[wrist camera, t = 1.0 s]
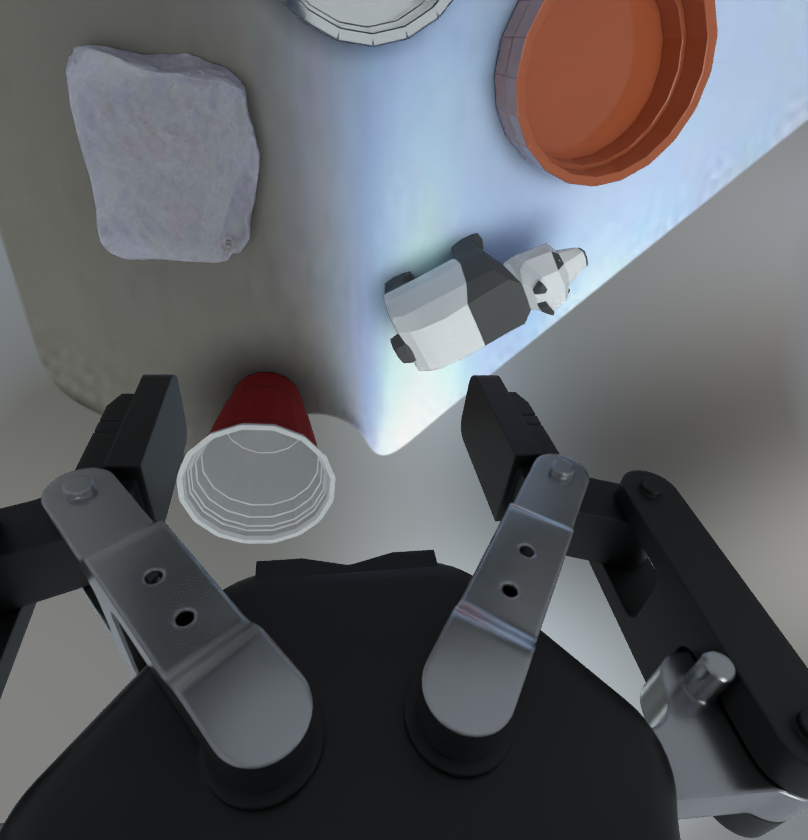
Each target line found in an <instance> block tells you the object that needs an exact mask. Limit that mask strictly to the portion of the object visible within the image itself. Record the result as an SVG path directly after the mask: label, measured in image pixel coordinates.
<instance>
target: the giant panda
mask: <svg viewBox="0 0 808 840" xmlns="http://www.w3.org/2000/svg"><path fill="white" fill-rule="evenodd" d="M452 254H453V258H452V259H451V260H449V261H447V262H445V263H444V264H442V265H440V266H438V267H436V268H434V269H432V270H431V271H429V272H427V273H425V274H423V275H421V276H419V277H417V278H416V279H415V277H414V276H413V275H412V274H411V273H410V272H406V273H403V274H401V275H398V276H396V277H394V278H392V279H391V280H390V281H388V282H387V283H386V284H385V293H384V300H385V304H386V308H387V311H388V314H389V316H390V318H391V320H392V323H393V325H394V327H395V329H396V331H397V335H396V336H394V337H393V338H392V339H390V340H391V343H392V346H393V349H394V351H395V353H396V354H397V356H398V357H399V359H400V360H401V361H402V362H403V363H411V362H414V363H415V365H416V366H417V368H418V370H419V371H432V370H436V369H440V368H443V367H445V366H448V365H450V364H452V363H454V362H456V361H458V360H461V359H463V358H465V357H467V356H468V355H470V354H472V353H473V352H475V351H477V350H479V349H480V348H482V347H484V346H485V345H487V344H489V343H491V342H492V341H494V340H496V339H497V338H499V337H501V336H503V335H504V334H506V333H508V332H509V331H511V330H513V329H515V328H517V327H519V326H521V325H523V324H525V322H526V320H527V317H528V315H529V313H530V311H531V310H540V311H542V312H544V313H547V314H550V315H554V311H553V310H554V309H556V308H557V307H558V306H560V305H561V304H563V303H564V302H565V301H567V296H568V293H569V292H570V289H569V284H570V282H571V281H572V280H573V279H574V278H575V277H576V276H577V275H578V274H579V273H580V272H581V271H582V270H583V269H584V268H585V267H586V266H587V265H588V261H587V256H586V254H585V251H584V250H582V249H581V248H569V249H562V250H556V251H555V250H554V249H553V248H552V247H550V246H549V245H548V244H547V243H546V244H543V245H541V246H538V247H536V248H533V249H531V250H528V251H526V252H523V253H521V254H518V255H515V256H513V257H512V258H510V259H508V260H507V261H506V262H504V263H503V264H502V263H500V262H498V261H497V260H495V259H493V258H492V257H491V256H489V255H488V254H487V253H485V252H484V251H483V242H482V239H481V237H480V236H479V235H478V234H477V233H476V234H473V235H470V236H468V237H466V238H464V239H462V240H460V241H459V242H458V243H457V244H456V245H454V246H453V247H452Z"/></svg>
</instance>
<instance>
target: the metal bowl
mask: <svg viewBox="0 0 808 840" xmlns="http://www.w3.org/2000/svg"><path fill="white" fill-rule="evenodd" d="M283 1H284V2H285V3H286V5H287V6H288V7H289V8H290V9H291V10H292V11H293V12H294V13H295V14H296V15H297V16H298V18H299V19H300V20H301V21H303V22H304V23H306V24H307V25H309V26H311V27H312V28H314V29H316V30H318V31H319V32H321V33H323V34H325V35H326V36H328V37H330V38H331V39H334V40H337V41H340V42H346V43H352V44H358V45H364V46H370V47H376V46H380V45H384V44H389V43H393V42H398V41H402V40H407V38H410V37H412V36H413V35H415V34H416V33H418V32H419V31H421V30H422V29H424V28H425V27H427V26H428V25H430V24H431V23H433V22H434V21H436V20H437V19H438V18H439V17H440V16H441V15H442V14H443V13H444V11H445V10H446V9H447V7H448V6H449V5H450V4H451V2H452V1H453V0H283Z"/></svg>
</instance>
